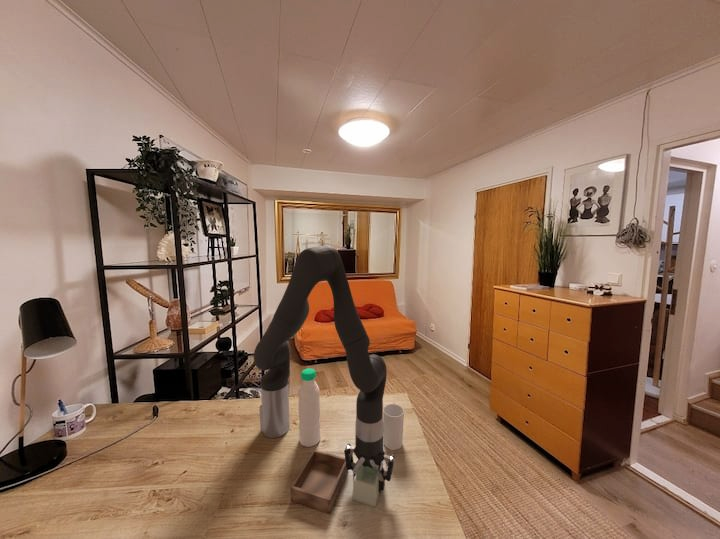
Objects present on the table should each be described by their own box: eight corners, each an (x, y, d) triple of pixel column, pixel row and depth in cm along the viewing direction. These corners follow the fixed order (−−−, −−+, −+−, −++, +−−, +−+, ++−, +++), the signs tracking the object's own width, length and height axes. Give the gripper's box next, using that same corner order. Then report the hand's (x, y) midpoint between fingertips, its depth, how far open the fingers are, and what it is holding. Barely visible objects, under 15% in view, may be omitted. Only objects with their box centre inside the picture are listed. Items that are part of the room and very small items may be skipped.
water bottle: (324, 436, 94) (323, 368, 90) (312, 450, 87) (311, 378, 84) (307, 430, 96) (306, 364, 93) (295, 443, 90) (292, 373, 87)
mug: (402, 452, 87) (403, 418, 85) (382, 449, 88) (382, 415, 86) (403, 430, 97) (403, 399, 95) (384, 427, 98) (384, 397, 96)
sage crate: (353, 500, 71) (353, 480, 70) (363, 472, 79) (363, 453, 79) (375, 507, 69) (375, 486, 68) (383, 477, 78) (383, 458, 77)
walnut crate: (290, 501, 71) (290, 487, 70) (314, 461, 83) (313, 449, 83) (330, 514, 67) (329, 500, 67) (348, 470, 80) (348, 458, 79)
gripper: (339, 434, 71) (339, 490, 73) (393, 447, 66) (392, 507, 68) (348, 416, 78) (349, 468, 80) (398, 426, 73) (397, 481, 76)
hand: (368, 485), depth 74 cm, fingers closed on sage crate, 6 cm apart
